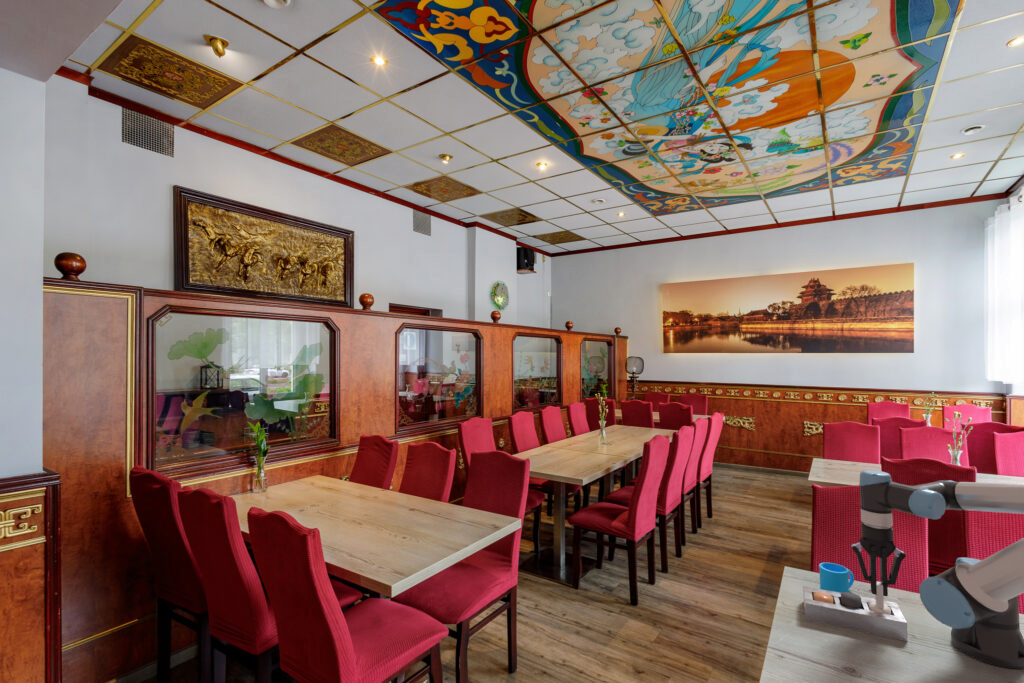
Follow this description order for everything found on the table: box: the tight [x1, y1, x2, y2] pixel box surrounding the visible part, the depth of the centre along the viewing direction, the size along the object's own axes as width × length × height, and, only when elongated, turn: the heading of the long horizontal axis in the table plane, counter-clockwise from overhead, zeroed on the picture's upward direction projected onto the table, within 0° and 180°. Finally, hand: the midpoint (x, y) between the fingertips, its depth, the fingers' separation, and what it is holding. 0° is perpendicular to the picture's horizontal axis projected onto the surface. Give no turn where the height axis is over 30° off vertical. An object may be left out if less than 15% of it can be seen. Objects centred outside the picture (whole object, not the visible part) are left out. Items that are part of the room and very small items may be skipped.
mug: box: [818, 562, 855, 593], centre depth 161 cm, size 12×8×8 cm
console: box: [802, 585, 909, 642], centre depth 143 cm, size 24×12×5 cm, turn 62°
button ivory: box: [869, 602, 891, 615], centre depth 140 cm, size 5×5×4 cm
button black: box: [841, 591, 862, 609], centre depth 144 cm, size 5×5×4 cm
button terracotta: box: [814, 592, 833, 604], centre depth 147 cm, size 5×5×4 cm
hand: (879, 605), depth 140 cm, fingers closed
